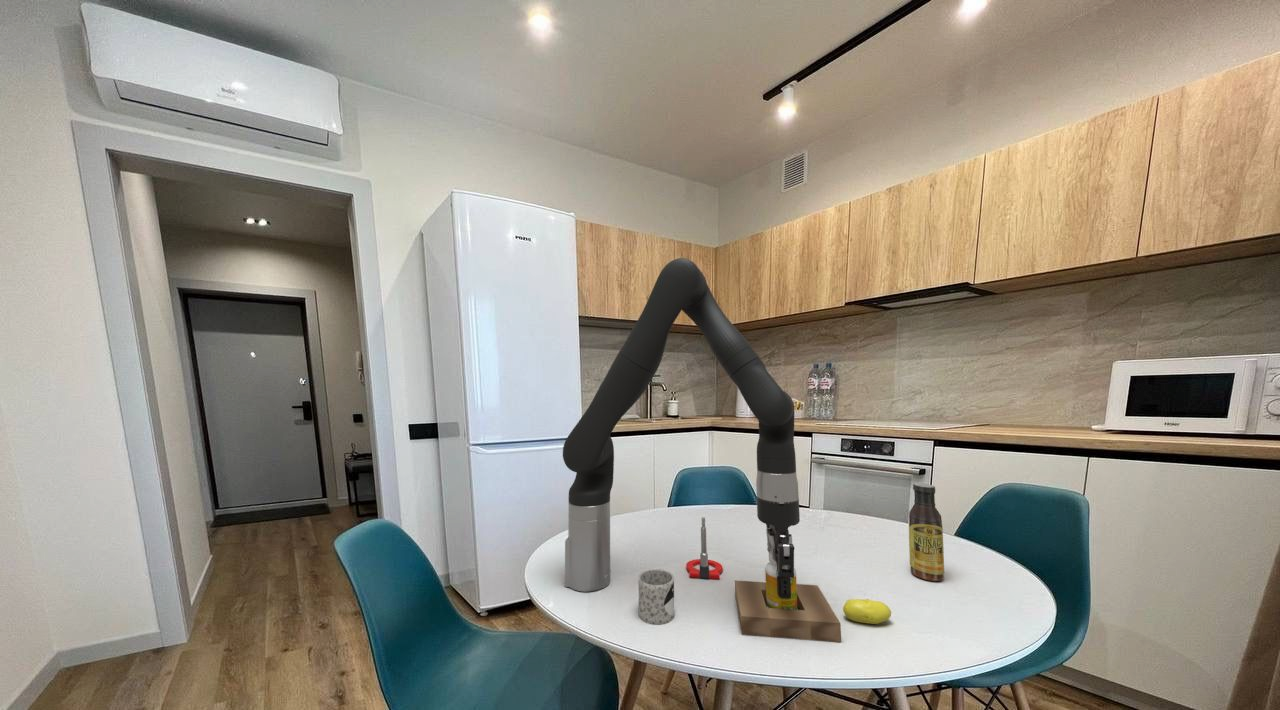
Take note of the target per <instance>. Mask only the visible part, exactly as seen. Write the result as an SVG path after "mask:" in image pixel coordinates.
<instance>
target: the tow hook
mask: <svg viewBox="0 0 1280 710" xmlns="http://www.w3.org/2000/svg"><path fill="white" fill-rule="evenodd" d="M700 548H701V551H700V554H699V555H700V556H699V557H700V558H697V559H692V560H689V561H687V562H686V564H685V568H686V570H687V572H688V573H689V574H688V575H689V578H693V579H694V578H697V579H704V580H709V579H710V580H711V579H713V580H720V577H721V574H722V572H723V570H724V568H723V565H722V564H721V563H720V562H718V561H715V560H711V559H708V558H709V555H708V552H707V549H708V548H707V527H706V517H704V516H702V517H701V527H700ZM698 565H699V566H698ZM695 566H698V568H699V569H698V568H695ZM710 566H711V567H713V568H714V569H710Z"/></svg>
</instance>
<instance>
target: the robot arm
mask: <svg viewBox="0 0 1280 710" xmlns="http://www.w3.org/2000/svg"><path fill="white" fill-rule="evenodd" d="M681 312H684V314H685V315H686V316H687V317H688V318H689V319H690V320H691V321H692V322H693V323H694V325H695V326H696V327H697V328H698V330H699V331H700V333H701V334H702V335H703V337H704V339H705V341H706V342H707V344H708V346H709V347H710V349H711V352H712V353H713V354H714V357H716V360H717V361H718V362H719V364H720V366H721V368H722V369H723V370H724V371H725V372H726V374H727V375H728V376H729V378H730V379H731V381H732V382H733V383H734V385H736V387H737V388H738V390H739V393H740V394H741V396H742V397H743V399H744V401H745V403H746V405H747V407H748V408H749V410H750V411H751V412H752V414H753V415H754V417H755V418H756V419H757V420H758V442H757V443H756V481H755V487H756V489H755V490H756V514H757V516H756V517H757V519H758V520H759V521H760V522H761V523H763V524H765V525H766V529H765V531H766V532H765V534H766V541H767V543H766V544H767V552H768V553H769V551H771V552H772V559H773V561H775V564H776V574H777V594H778V596H779V598H785V599H790V598H791V581H790V578H794V568H795V545H794V543H793V536H792V534H791V533H790V531H789V528H790V527H793V526H797V525H798V524H799V523H800V517H801V516H800V497H799V496H800V495H799V493H800V492H799V481H798V477H797V476H798V475H797V461H796V459H797V458H796V456H797V455H796V449H795V441H794V438H795V404H794V401H793V399H792V397H791V395H789V394H788V392H786V391H784V390H783V389H782V387H780V386H779V384H778V383H777V382H776V380H775V379H774V377H772V375H771V374H770V373H769V372H768V369H767V366H766V365H765V363H764V361H763V360H762V359H761V357H760V356H759V355H758V354H757V352H756V350H755V349H754V348H753V347H752V346H751V344H750V343H749V342H748V340H747V339H746V338H745V336H743V334H742V333H741V332H740V331H739V330H738V329H737V327H735V325H734V324H733V322H732V321H730V319H729V318H728V317H727V315H726V314H725V313H724V312H723V310H722V308H720V306H719V303H717V301H716V299H715V298H714V295H713V293H712V291H711V289H710V287H709V285H708V283H707V280H706V277H705V275H704V274H703V272H702V271H701V270H700V268H699V267H698V265H697V264H696V263H695V262H694V261H692V260H691V259H689V258H687V257H686V258H685V257H679V258H675V259H673V260H671V261H669V262H668V263H667V264H666V265H665V266H663V268H662V269H661V271H660V273H659V275H658V276H657V279H656V281H655V284H654V285H653V288H652V290H651V292H650V294H649V297H648V299H647V301H646V304H645V306H644V307H643V310H642V311H641V314H640V315H639V317H638V319H637V321H636V322H635V324H634V325H633V327H632V329H631V330H630V332H629V334H628V336H627V338H626V340H625V341H624V343H623V345H622V346H621V348H620V349H619V351H618V353H617V355H616V356H615V358H614V360H613V362H612V364H611V365H610V367H609V368H608V371H607V373H606V375H605V377H604V378H603V380H602V382H601V384H600V385H599V388H598V389H597V390H596V393H595V395H594V396H593V398H592V400H591V401H590V402H591V403H590V404H589V405H588V408H587V409H586V410H585V412H584V414H583V415H582V416H581V418H580V419H578V422H577V423H576V424H575V426H574V427H573V429H572V430H571V431H570V433H569V434H568V436H567V438H566V439H565V442H564V443H563V447H562V458H563V459H562V460H563V462H564V465H565V466H566V467H567V469H569V470H570V471H571V472H573V473H576V475H575V478H574V481H573V483H572V484H571V486H570V487H569V489H568V509H567V510H568V512H567V513H568V515H567V516H568V517H567V518H568V526H567V527H568V529H567V530H568V531H567V532H568V534H567V535H568V537H567V538H566V539H565V541H564V587H565V588H567V587H568V588H571V589H572V590H574V591H577V592H583V593H585V592H595V591H598V590H602V589H604V588H605V587H607V586H609V584H610V583H611V571H612V570H611V493H612V492H611V491H612V489H613V484H614V473H615V471H614V468H615V467H614V465H615V464H614V463H615V450H614V448H615V447H614V442H613V439H612V436H611V435H612V433H613V430H614V429H615V427H616V425H617V424H618V423H619V421H620V420H621V419H622V418H623V416H624V415H625V414H626V413H627V412H628V411H629V410H630V409H631V408H632V407H633V406H634V404H636V402H637V401H638V400H639V399H640V398H641V397H642V395H643V394H644V393H645V391H646V390H647V388H648V387H649V385H650V383H651V381H652V380H653V378H654V376H655V375H656V373H657V371H658V370H659V368H660V366H661V362H662V360H663V356H664V353H665V349H666V346H667V345H666V344H667V341H668V337H669V334H670V331H671V329H672V326H673V325H674V324H675V321H676V320H677V318H678V316H679V315H680V313H681ZM776 554H778V556H777V555H776ZM783 565H787V569H782V566H783Z"/></svg>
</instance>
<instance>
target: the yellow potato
mask: <svg viewBox="0 0 1280 710" xmlns="http://www.w3.org/2000/svg"><path fill="white" fill-rule="evenodd" d="M842 610H843V611H842V612H843V613H844V615H845V617H846V618H847V619H848V620H850V621H853V622H857V623H862V624H868V625H869V624H870V625H871V624H872V625H879V624H881V623H883V622H886V621H888V620H889V619H890V618H891V616H892V611H891V609H890V607H888V605H887V604H885V602H882V601H880V600H872V599H869V598H865V599H859V598H858V599H857V598H849V599H848V600H847V601H845V603H844V604H843V607H842Z"/></svg>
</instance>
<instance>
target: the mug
mask: <svg viewBox="0 0 1280 710" xmlns="http://www.w3.org/2000/svg"><path fill="white" fill-rule="evenodd" d="M638 618H639V619H640V620H641V621H642V622H644V623H645V624H648V625H652V626H653V625H655V626H662V625H666V624H669V623H670V622H672V621H673V620H674V619H675V577H674V575H673V574H672V573H671V572H670V571H667V570H664V569H660V568H659V569H650V570H645V571H642V572H641V573H640V574H639V575H638Z"/></svg>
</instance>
